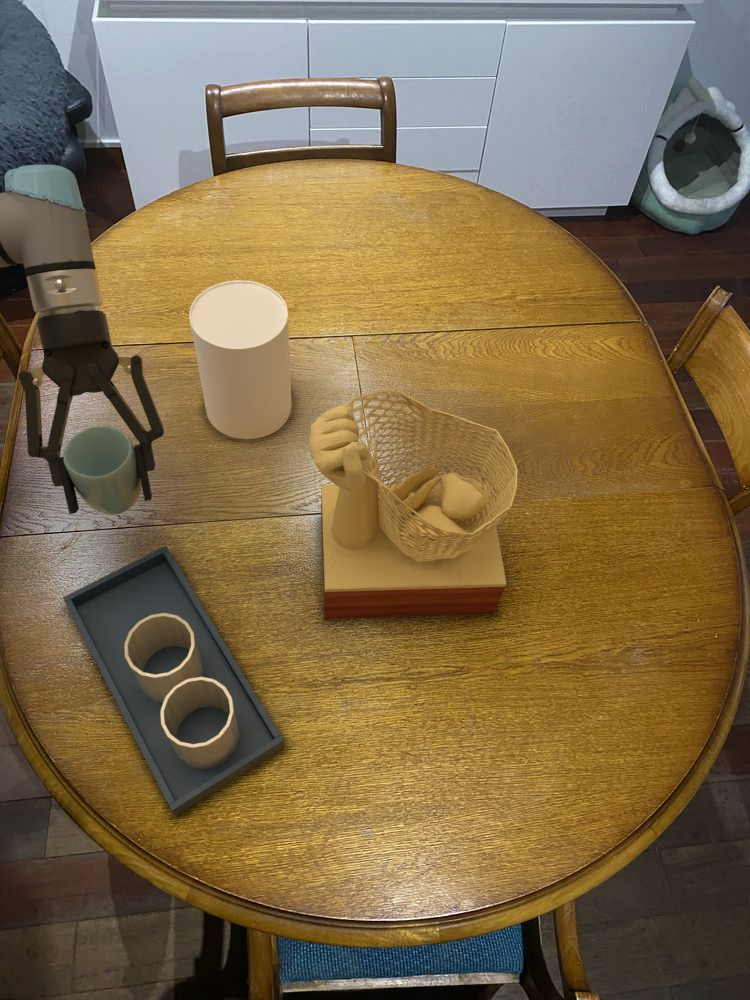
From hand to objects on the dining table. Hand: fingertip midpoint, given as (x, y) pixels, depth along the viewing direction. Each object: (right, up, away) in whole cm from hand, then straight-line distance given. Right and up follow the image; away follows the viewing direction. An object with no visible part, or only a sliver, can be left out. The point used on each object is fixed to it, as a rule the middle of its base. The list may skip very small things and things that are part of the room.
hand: (111, 504), depth 95 cm
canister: (+12, +15, +31) cm, 37 cm away
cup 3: (+11, -29, +2) cm, 31 cm away
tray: (+6, -22, +6) cm, 23 cm away
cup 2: (+6, -22, +6) cm, 23 cm away
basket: (+35, -9, +17) cm, 40 cm away
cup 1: (-1, +1, +5) cm, 5 cm away
